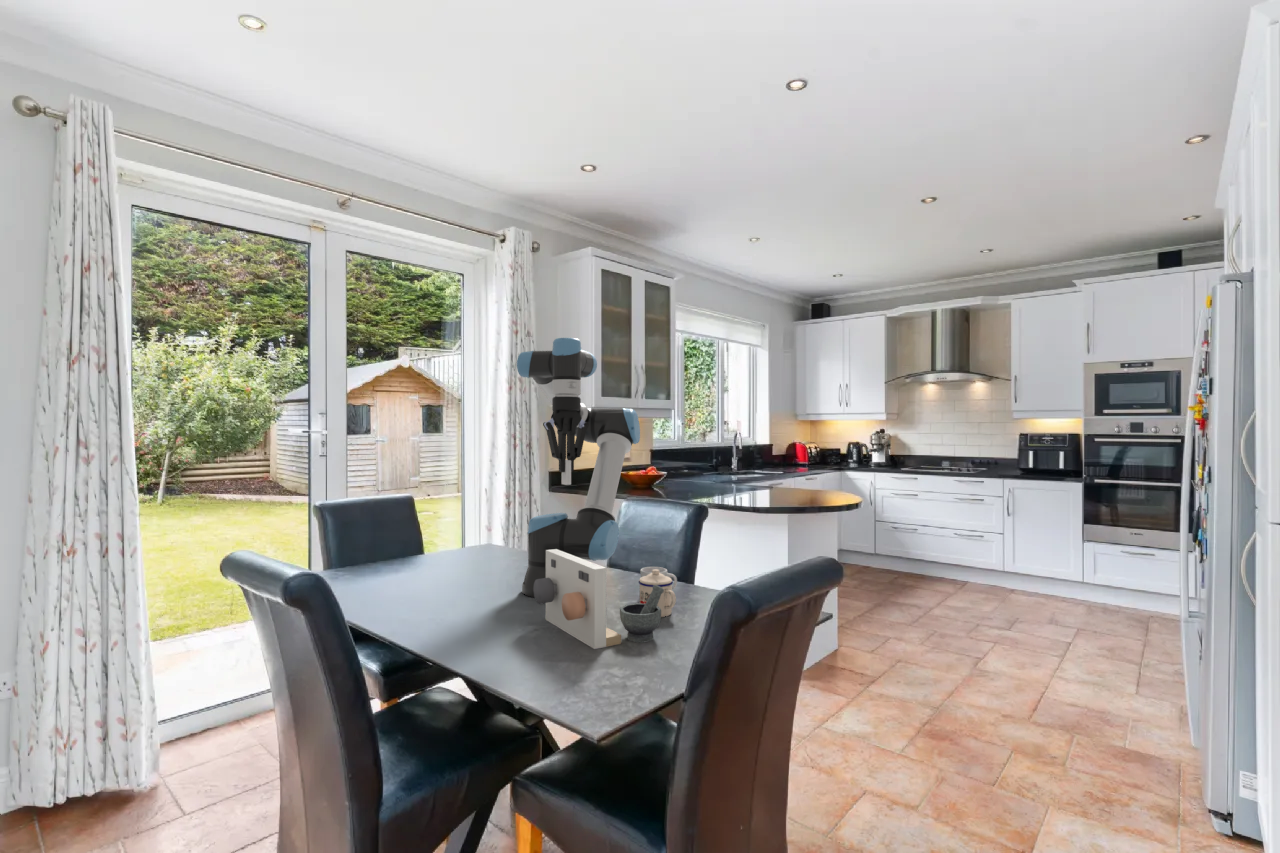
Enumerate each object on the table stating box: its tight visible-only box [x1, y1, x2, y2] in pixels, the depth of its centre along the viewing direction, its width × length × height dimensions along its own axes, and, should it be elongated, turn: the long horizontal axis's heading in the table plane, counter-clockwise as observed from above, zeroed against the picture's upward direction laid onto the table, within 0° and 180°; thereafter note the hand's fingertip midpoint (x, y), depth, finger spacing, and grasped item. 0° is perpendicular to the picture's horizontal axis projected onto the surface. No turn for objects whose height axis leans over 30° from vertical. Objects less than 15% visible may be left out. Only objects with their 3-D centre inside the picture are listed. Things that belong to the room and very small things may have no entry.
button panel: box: [545, 549, 622, 650], centre depth 161 cm, size 7×26×18 cm, turn 33°
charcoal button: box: [533, 578, 557, 605], centre depth 166 cm, size 10×6×6 cm, turn 123°
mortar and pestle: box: [619, 585, 664, 643], centre depth 156 cm, size 11×9×12 cm
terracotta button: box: [562, 592, 587, 620], centre depth 152 cm, size 10×6×6 cm, turn 123°
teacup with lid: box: [638, 569, 677, 618], centre depth 175 cm, size 12×9×12 cm
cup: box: [639, 566, 678, 591], centre depth 192 cm, size 11×8×8 cm
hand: (566, 484), depth 176 cm, fingers closed
